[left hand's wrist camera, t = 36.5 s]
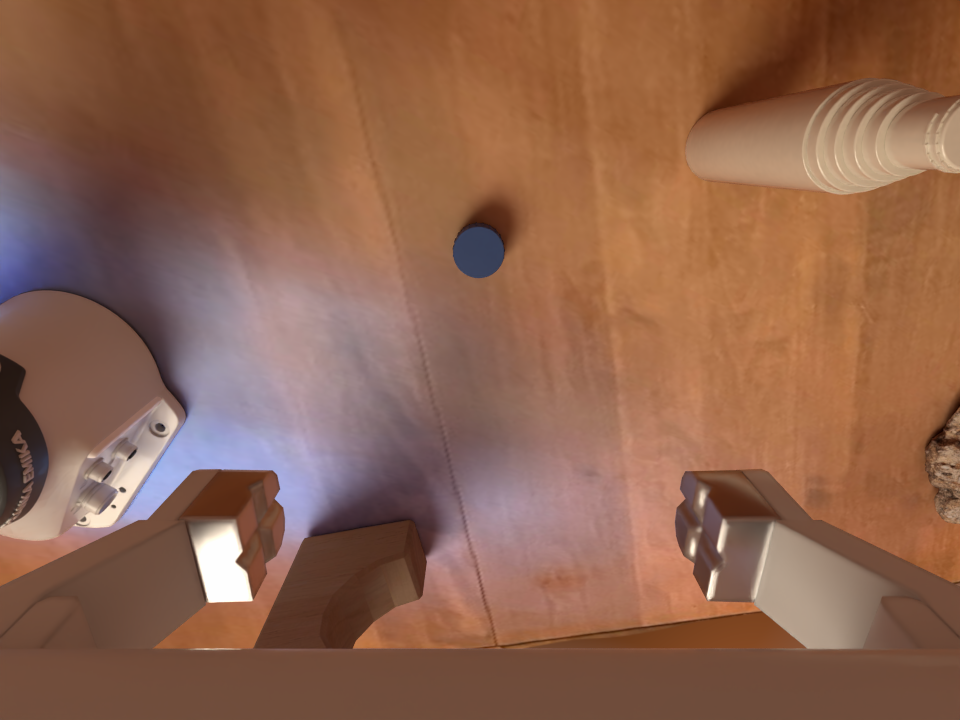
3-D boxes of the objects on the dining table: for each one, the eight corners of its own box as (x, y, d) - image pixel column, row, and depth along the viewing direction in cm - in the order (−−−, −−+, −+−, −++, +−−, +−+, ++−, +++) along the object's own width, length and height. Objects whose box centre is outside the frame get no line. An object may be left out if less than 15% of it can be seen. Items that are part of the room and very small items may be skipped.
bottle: (706, 96, 36) (970, 24, 17) (767, 123, 36) (1090, 84, 17) (672, 167, 37) (877, 176, 18) (731, 191, 38) (989, 225, 19)
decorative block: (414, 516, 48) (374, 741, 30) (428, 563, 50) (398, 800, 32) (301, 534, 49) (193, 764, 30) (319, 580, 51) (227, 821, 32)
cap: (443, 242, 39) (441, 247, 37) (483, 211, 38) (484, 214, 36) (473, 282, 40) (473, 288, 38) (513, 252, 40) (515, 258, 38)
